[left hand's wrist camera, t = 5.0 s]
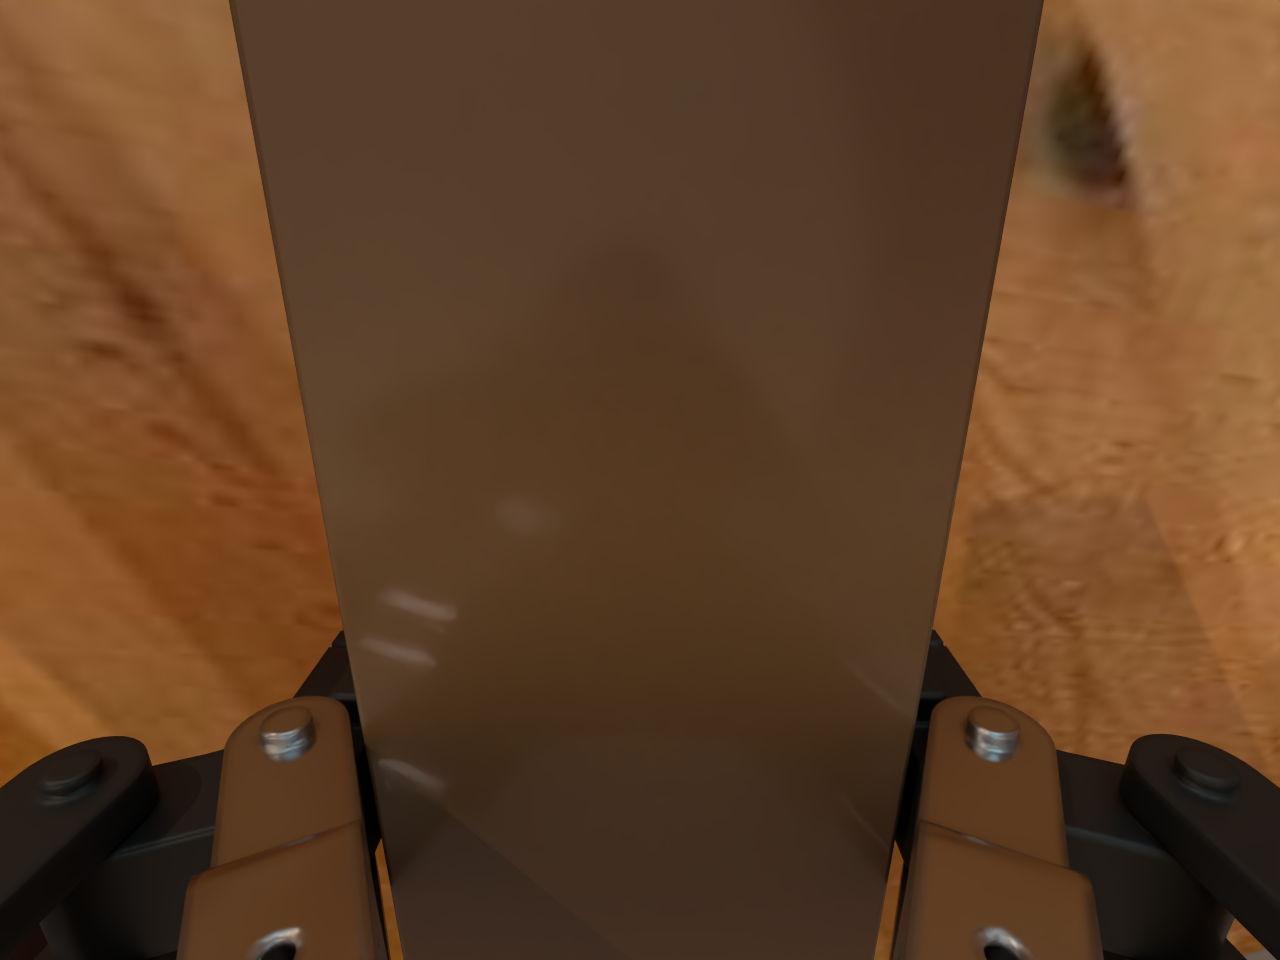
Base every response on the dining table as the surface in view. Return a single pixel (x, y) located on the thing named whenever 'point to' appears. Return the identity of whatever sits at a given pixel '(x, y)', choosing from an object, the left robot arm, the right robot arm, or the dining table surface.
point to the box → (637, 436)
